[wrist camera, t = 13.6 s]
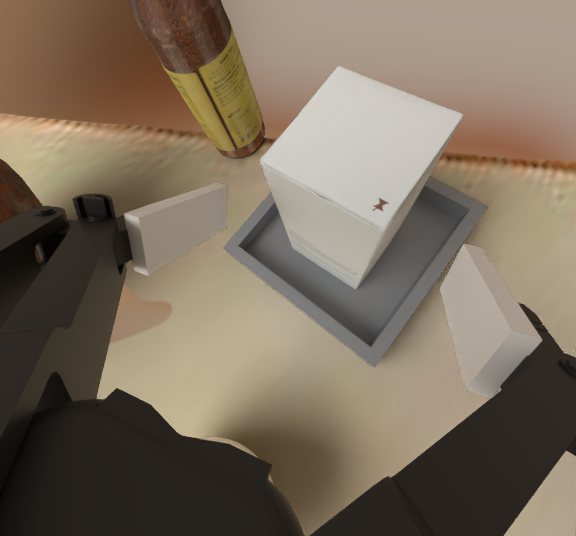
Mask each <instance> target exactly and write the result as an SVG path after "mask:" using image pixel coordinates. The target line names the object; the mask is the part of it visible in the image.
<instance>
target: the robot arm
mask: <svg viewBox="0 0 576 536" xmlns="http://www.w3.org/2000/svg"><path fill="white" fill-rule="evenodd" d="M73 202H74V205H75V209H76V212H77V216H78V220H77V221H73V220H67V217H66V213H65V210H64V209H62V208H58V207H50V206H40V207H37V208H34V209H30V210H27V211H25V212H23V213H21V214H19V215H17V216H15V217H13V218H11V219H9V220H7V221H5V222H2V223H0V536H304V534H303V531H302V528H301V526H300V524H299V521H298V519H297V517H296V515H295V513H294V511H293V509H292V508H291V506H290V505H289V503H288V501H287V500H286V498H285V497H284V496H283V495H282V493H281V492H280V491H279V489H278V488H277V487H276V486H275V485H274V484H273V483H272V482H271V481H270V480H269V475H270V471H271V466H272V465H271V464H269V463H267V462H265V461H263V460H261V459H259V458H257V457H255V456H253V455H251V454H249V453H247V452H245V451H243V450H241V449H239V448H237V447H235V446H233V445H231V444H228V443H222V442H216V441H210V440H204V439H198V438H192V437H186V436H182V435H180V434H178V433H177V432H176V431H175V430H174V429H173V428H172V427H171V426H170V425H169V424H168V422H167V421H166V420H165V419H164V418H163V417H162V416H161V415H160V414H159V413H158V412H157V411H156V410H155V409H154V408H153V407H152V406H151V405H150V404H148V403H146V402H144V401H142V400H140V399H138V398H136V397H134V396H132V395H130V394H128V393H126V392H124V391H122V390H120V389H118V388H116V389H115V390H114V391H113V392H112V393H111V394H110V395H109V396H108V397H107V398H106V399H96V398H97V392H98V388H99V384H100V380H101V375H102V371H103V367H104V363H105V359H106V355H107V351H108V346H109V342H110V338H111V334H112V330H113V325H114V321H115V317H116V313H117V309H118V305H119V301H120V296H121V292H122V288H123V284H124V280H125V276H126V271H127V269H126V264H125V263H126V262H128V261H130V260H132V261H133V266H134V271H136V272H139V273H142V274H145V275H147V276H149V275H150V274H152V273H154V272H155V271H157V270H158V269H160V268H162V267H163V266H165V265H167V264H168V263H170V262H172V261H173V260H175V259H176V258H178V257H180V256H181V255H183V254H185V253H186V252H188V251H190V250H191V249H193V248H194V247H196V246H198V245H199V244H201V243H203V242H204V241H206V240H208V239H209V238H211V237H212V236H214V235H216V234H217V233H219V232H221V231H222V230H224V229H226V228H227V185H224V184H220V183H214V184H211V185H208V186H205V187H201V188H198V189H195V190H192V191H189V192H186V193H183V194H180V195H177V196H174V197H171V198H168V199H165V200H162V201H159V202H156V203H153V204H150V205H147V206H143V207H140V208H137V209H134V210H131V211H128V212H125V213H123V214H124V215H123V216H120V217H117V218H116V217H115V212H114V207H113V202H112V198H111V197H110V196H107V195H103V194H86V195H80V196H77V197H75V198H73ZM35 248H37V251H38V253H39V256H40V258H41V259H40V260H39V261H37V258H36V256H35ZM440 293H441V297H442V301H443V305H444V309H445V312H446V316H447V320H448V324H449V328H450V332H451V336H452V340H453V344H454V348H455V352H456V356H457V360H458V364H459V368H460V372H461V376H462V380H463V384H464V388H465V390H466V391H469V392H471V393H474V394H477V395H480V396H482V397H485V398H488V399H490V400H489V401H487V402H486V403H485V404H484V405H482V406H481V407H480V408H479V409H477V410H476V411H475V412H474V413H472V414H471V415H470V416H469V417H467V418H466V419H465V420H464V421H462V422H461V423H460V424H459V425H457V426H456V427H455V428H454V429H452V430H451V431H450V432H449V433H447V434H446V435H445V436H443V437H442V438H441V439H440V440H438V441H437V442H436V443H435V444H433V445H432V446H431V447H430V448H428V449H427V450H426V451H425V452H423V453H422V454H421V455H420V456H418V457H417V458H416V459H415V460H413V461H412V462H411V463H410V464H408V465H407V466H406V467H405V468H403V469H402V470H401V471H400V472H398V473H397V474H396V475H394V476H393V477H391V478H390V477H389V476H388V477H386V478H384V479H382V480H381V481H379V482H378V483H377V484H375V485H374V486H373V487H371V488H370V489H369V490H368V491H366V492H365V493H364V494H362V495H361V496H360V497H359V498H357V499H356V500H355V501H353V502H352V503H351V504H350V505H348V506H347V507H346V508H345V509H343V510H342V511H341V512H339V513H338V514H337V515H336V516H334V517H333V518H332V519H330V520H329V521H328V522H327V523H325V524H324V525H323V526H321V527H320V528H319V529H318V530H316V531H315V532H314V533H313V534H311V535H310V536H504V534H505V533H506V531H507V530H508V529H509V527H510V526H511V525H512V523H513V522H514V521H515V519H516V518H517V516H518V515H519V514H520V512H521V511H522V510H523V508H524V507H525V506H526V504H527V503H528V501H529V500H530V499H531V497H532V496H533V495H534V493H535V492H536V491H537V489H538V488H539V486H540V485H541V484H542V482H543V481H544V480H545V478H546V477H547V476H548V474H549V473H550V471H551V470H552V469H553V467H554V466H555V465H556V463H557V462H558V460H559V459H560V458H561V456H562V455H563V454H564V452H565V451H566V450H567V451H568V452H570V453H572V454H573V455H575V456H576V358H575V357H573V356H571V355H568V354H565V353H563V351H562V350H561V348H560V347H559V346H558V344H557V343H556V342H555V340H554V339H553V337H552V336H551V335H550V333H548V330H547V329H546V328H545V326H544V325H542V322H541V321H540V319H539V318H538V317H537V315H536V314H535V313H534V312H532V311H531V310H530V309H529V308H528V307H526V306H525V305H524V304H520V303H518V302H517V301H516V299H515V298H514V296H513V295H512V293H511V292H510V290H509V289H508V287H507V286H506V284H505V283H504V281H503V280H502V278H501V277H500V275H499V274H498V272H497V271H496V270H495V268H494V267H493V265H492V264H491V262H490V261H489V259H488V258H487V256H486V255H485V253H484V252H483V250H482V249H481V247H477V246H473V245H468V244H463V245H462V247H461V249H460V251H459V253H458V255H457V257H456V259H455V261H454V262H453V264H452V266H451V268H450V270H449V272H448V274H447V276H446V278H445V279H444V281H443V283H442V285H441V287H440ZM500 388H501V391H500V392H499V393H497V394H496V395H495V393H496V392H497V391H498V390H499V389H500ZM494 395H495V396H494ZM493 396H494V397H493Z"/></svg>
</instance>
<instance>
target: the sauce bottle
mask: <svg viewBox="0 0 576 536" xmlns="http://www.w3.org/2000/svg"><path fill="white" fill-rule="evenodd" d="M130 4H131V7H132V10H133V13H134V15H135V17H136V20H137V22H138V24H139V27H140V28H141V31H142V32H143V34H144V36H145V37H146V38H147V40H148V41H149V43H150V44H151V46H152V47H153V49H154V51H155V52H156V54H157V55H158V57H159V60H160V62H161V64H162V66H163V67H164V69H165V70H166V72H167V74H168V75H169V76H170V78H171V80H172V81H173V83H174V85H175V86H176V88H177V89H178V91H179V92H180V94H181V96H182V97H183V99H184V100H185V102H186V103H187V105H188V107H189V108H190V109H191V111H192V113H193V114H194V116H195V117H196V119H197V121H198V122H199V124H200V125H201V127H202V128H203V130H204V132H205V133H206V135H207V137H208V138H209V140H210V141H211V143H212V144H213V145H214V146H215V147H216V148H217V149H218V150H219V151H220V153H221V154H223V155H224V156H227V157H233V158H239V157H240V158H241V157H245V156H248V155H250V154H251V153H253V152H254V151H255V150H257V149H258V148H259V146H260V145H261V143H262V141H263V140H264V134H265V130H264V129H265V128H264V123H263V120H262V115H261V112H260V109H259V105H258V102H257V100H256V97H255V94H254V91H253V88H252V85H251V82H250V80H249V77H248V73H247V71H246V67H245V64H244V62H243V59H242V56H241V53H240V50H239V47H238V44H237V41H236V39H235V36H234V32H233V29H232V27H231V24H230V21H229V19H228V16H227V14H226V13H225V10H224V8H223V5H222V3H221V0H130Z"/></svg>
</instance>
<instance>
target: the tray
mask: <svg viewBox="0 0 576 536" xmlns="http://www.w3.org/2000/svg"><path fill="white" fill-rule="evenodd" d="M487 208H488V206H486V205H484V204H482V203H480V202H478V201H476V200H475V199H473V198H471V197H469V196H467V195H465V194H463V193H461V192H459V191H457V190H455V189H453V188H451V187H450V186H448V185H446V184H444V183H442V182H440V181H438V180H436V179H434V178H432V177H429V178H428V180H427V182H426V183H425V185H424V187H423V188H422V190H421V192H420V193H419V195H418V197H417V199H416V200H415V202H414V204H413V205H412V207H411V209H410V210H409V212H408V214H407V216H406V217H405V219H404V221H403V223H402V224H401V226H400V228H399V230H398V231H397V233H396V234H395V236H394V237H393V239H392V241H391V242H390V244H389V245H388V247H387V248H386V249H385V251H384V252H383V254H382V255H381V257H380V258H379V259H378V261H377V262H376V264H375V265H374V267H373V268H372V269H371V271H370V272H369V273H368V275H367V276H366V277H365V279H364V280H363V282H362V283H361V284H360V286H359V287H358V288H357V289H354V288H352V287H351V286H349V285H348V284H346V283H345V282H343V281H342V280H340V279H338V278H337V277H335V276H334V275H332V274H331V273H329V272H328V271H326V270H325V269H323V268H322V267H320V266H318V265H317V264H315V263H314V262H312V261H311V260H309V259H308V258H306V257H305V256H303V255H302V254H300V253H299V252H297V251H296V250H295V249H293V248H292V245H291V242H290V240H289V237H288V234H287V231H286V229H285V226H284V224H283V221H282V219H281V216H280V214H279V211H278V208H277V206H276V203H275V200H274V198H273V195H272V193H270V194H269V195H268V196H267V197H266V198H265V200H264V201H263V202H262V203H261V204H260V205H259V207H258V208H257V209H256V210H255V211H254V212H253V214H252V215H251V216H250V217H249V218H248V220H247V221H246V222H245V223H244V224H243V225H242V227H241V228H240V229H239V230H238V231H237V232H236V234H235V235H234V236H233V237H232V238H231V239H230V241H229V242H228V243H227V244H226V245H225V246H224V249H225V250H226V251H227V252H228V253H229V254H230V255H231V256H232V257H234V258H235V259H236V260H237V261H239V262H240V263H241V264H242V265H244V266H245V267H246V268H248V269H249V270H250V271H251V272H253V273H254V274H255V275H256V276H258V277H259V278H260V279H261V280H263V281H264V282H265V283H267V284H268V285H269V286H270V287H272V288H273V289H274V290H275V291H277V292H278V293H279V294H281V295H282V296H283V297H284V298H286V299H287V300H288V301H289V302H291V303H292V304H293V305H294V306H296V307H297V308H298V309H300V310H301V311H302V312H303V313H305V314H306V315H307V316H308V317H310V318H311V319H312V320H314V321H315V322H316V323H317V324H319V325H320V326H321V327H322V328H324V329H325V330H326V331H327V332H329V333H330V334H331V335H333V336H334V337H335V338H336V339H338V340H339V341H340V342H341V343H343V344H344V345H345V346H347V347H348V348H349V349H350V350H352V351H353V352H354V353H355V354H357V355H358V356H359V357H360V358H362V359H363V360H364V361H366V362H367V363H368V364H369V365H371V366H373V367H375V366H376V365H377V364H378V362H379V361H380V359H381V358H382V356H383V355H384V354H385V352H386V351H387V349H388V348H389V347H390V345H391V344H392V342H393V341H394V339H395V338H396V337H397V335H398V334H399V332H400V331H401V330H402V328H403V327H404V325H405V324H406V322H407V321H408V320H409V318H410V317H411V315H412V314H413V313H414V311H415V310H416V308H417V307H418V306H419V304H420V303H421V301H422V300H423V298H424V297H425V296H426V294H427V293H428V291H429V290H430V289H431V287H432V286H433V284H434V283H435V281H436V280H437V279H438V277H439V276H440V274H441V273H442V272H443V270H444V269H445V267H446V266H447V264H448V263H449V262H450V260H451V259H452V257H453V256H454V255H455V253H456V252H457V250H458V249H459V247H460V246H461V245H462V243H463V242H464V240H465V239H466V238H467V236H468V235H469V233H470V232H471V231H472V229H473V228H474V226H475V225H476V223H477V222H478V221H479V219H480V218H481V216H482V215H483V214H484V212H485V211H486V209H487Z"/></svg>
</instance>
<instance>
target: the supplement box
mask: <svg viewBox="0 0 576 536" xmlns="http://www.w3.org/2000/svg"><path fill="white" fill-rule="evenodd" d="M462 118H463V114H462V113H459V112H456V111H454V110H451V109H449V108H446V107H443V106H440V105H438V104H435V103H433V102H430V101H427V100H425V99H422V98H419V97H417V96H414V95H412V94H409V93H407V92H404V91H402V90H399V89H397V88H394V87H391V86H389V85H386V84H384V83H381V82H379V81H376V80H374V79H371V78H369V77H366V76H363V75H361V74H359V73H356V72H354V71H351V70H348V69H346V68H344V67H341V66H338V67H337V68H336V69H335V71H334V72H333V73H332V74H331V75H330V77H329V78H328V79H327V80H326V81H325V83H324V84H323V85H322V86H321V87H320V89H319V90H318V91H317V92H316V94H315V95H314V96H313V97H312V99H311V100H310V101H309V102H308V103H307V104H306V106H305V107H304V108H303V109H302V111H301V112H300V113H299V114H298V116H297V117H296V118H295V119H294V121H293V122H292V123H291V124H290V125H289V126H288V127H287V129H286V130H285V131H284V132H283V133H282V134H281V136H280V137H279V138H278V139H277V140H276V141H275V142H274V144H273V145H272V146H271V147H270V148H269V149H268V151H267V152H266V153H265V154H264V155H263V156H262V157H261V159H260V164H261V166H262V169H263V172H264V175H265V177H266V180H267V182H268V185H269V188H270V190H271V193H272V195H273V198H274V200H275V203H276V206H277V208H278V211H279V214H280V216H281V219H282V221H283V224H284V226H285V229H286V231H287V234H288V237H289V240H290V242H291V245H292V248H293V249H295V250H296V251H297V252H299V253H300V254H302V255H303V256H305V257H306V258H308V259H309V260H311V261H312V262H314V263H315V264H317V265H318V266H320V267H322V268H323V269H325V270H326V271H328V272H329V273H331V274H332V275H334V276H335V277H337V278H338V279H340V280H342V281H343V282H345V283H346V284H348V285H349V286H351V287H352V288H354V289H357V288H358V287H359V286H360V284H361V283H362V282H363V280H364V279H365V277H366V276H367V275H368V273H369V272H370V271H371V269H372V268H373V267H374V265H375V264H376V262H377V261H378V259H379V258H380V257H381V255H382V254H383V252H384V251H385V249H386V248H387V247H388V245H389V244H390V242H391V241H392V239H393V237H394V236H395V234H396V233H397V231H398V230H399V228H400V226H401V224H402V223H403V221H404V219H405V217H406V216H407V214H408V212H409V210H410V209H411V207H412V205H413V204H414V202H415V200H416V199H417V197H418V195H419V193H420V192H421V190H422V188H423V187H424V185H425V183H426V182H427V180H428V178H429V177H430V175H431V173H432V171H433V170H434V168H435V166H436V164H437V163H438V161H439V159H440V157H441V156H442V154H443V152H444V150H445V149H446V147H447V145H448V144H449V142H450V140H451V138H452V137H453V134H454V133H455V131H456V129H457V128H458V126H459V124H460V122H461V120H462Z"/></svg>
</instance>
